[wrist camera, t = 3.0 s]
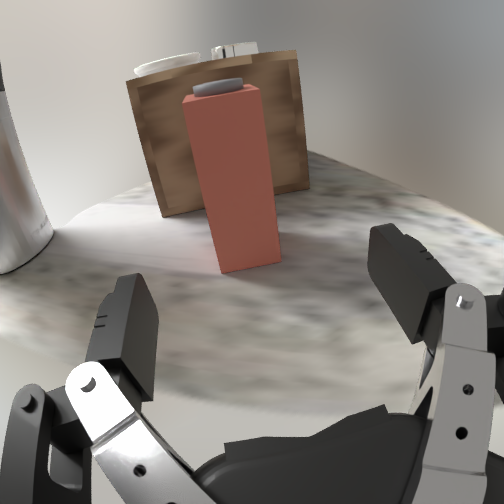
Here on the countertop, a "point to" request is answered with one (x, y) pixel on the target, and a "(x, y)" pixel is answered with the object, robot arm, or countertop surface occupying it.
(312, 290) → the countertop surface
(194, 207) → the slot box
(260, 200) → the spice tin
